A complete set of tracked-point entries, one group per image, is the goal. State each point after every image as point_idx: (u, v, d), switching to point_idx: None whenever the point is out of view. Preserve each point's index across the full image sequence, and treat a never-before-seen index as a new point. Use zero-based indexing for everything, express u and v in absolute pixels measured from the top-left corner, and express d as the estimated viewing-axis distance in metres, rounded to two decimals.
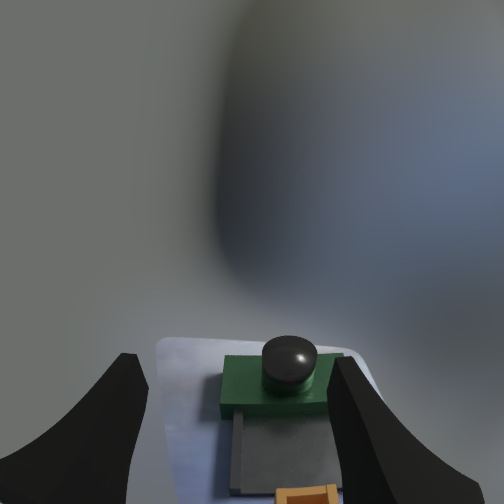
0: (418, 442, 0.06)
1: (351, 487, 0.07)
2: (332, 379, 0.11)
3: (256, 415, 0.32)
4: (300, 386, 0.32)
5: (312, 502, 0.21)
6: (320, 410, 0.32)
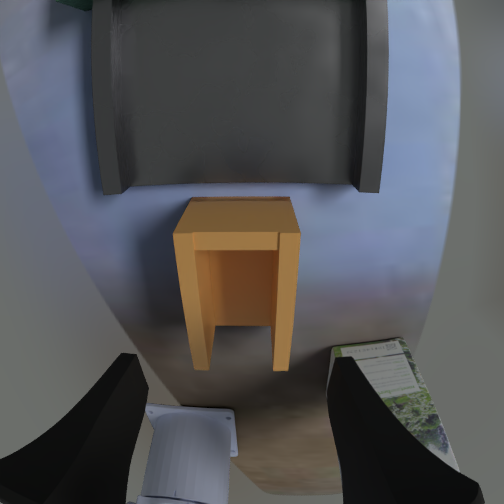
0: (418, 442, 0.06)
1: (351, 487, 0.07)
2: (332, 379, 0.11)
3: None
4: None
5: None
6: None
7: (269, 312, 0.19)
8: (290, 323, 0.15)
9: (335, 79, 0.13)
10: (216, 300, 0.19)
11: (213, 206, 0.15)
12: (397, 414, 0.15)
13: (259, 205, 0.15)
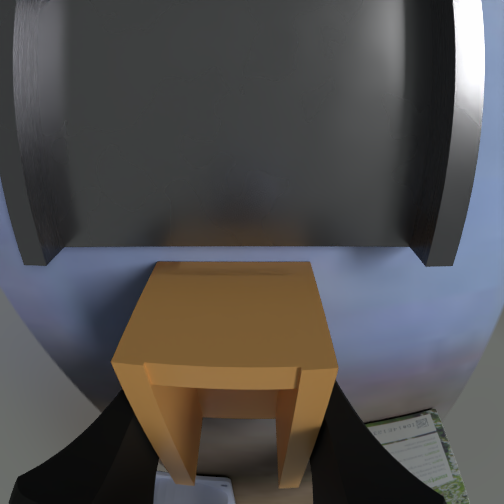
0: (383, 450, 0.06)
1: (319, 491, 0.07)
2: None
3: None
4: None
5: None
6: None
7: (274, 406, 0.13)
8: (306, 456, 0.09)
9: (396, 72, 0.07)
10: (201, 394, 0.13)
11: (186, 289, 0.09)
12: None
13: (262, 287, 0.09)
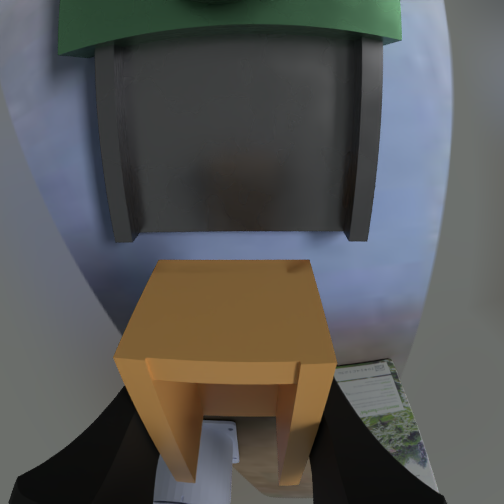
0: (384, 449, 0.06)
1: (319, 491, 0.07)
2: None
3: (150, 42, 0.12)
4: None
5: None
6: (304, 33, 0.11)
7: (274, 404, 0.13)
8: (306, 452, 0.09)
9: (329, 134, 0.14)
10: (202, 392, 0.13)
11: (187, 286, 0.09)
12: (382, 431, 0.17)
13: (262, 284, 0.09)
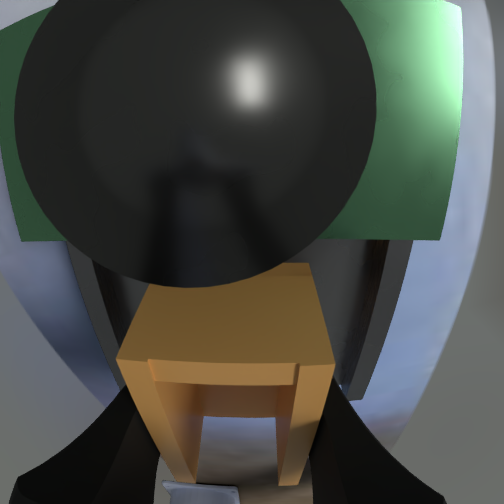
0: (383, 450, 0.06)
1: (319, 491, 0.07)
2: None
3: None
4: None
5: None
6: None
7: (274, 405, 0.13)
8: (305, 453, 0.09)
9: (337, 316, 0.14)
10: (202, 393, 0.13)
11: (188, 288, 0.09)
12: None
13: (262, 287, 0.09)
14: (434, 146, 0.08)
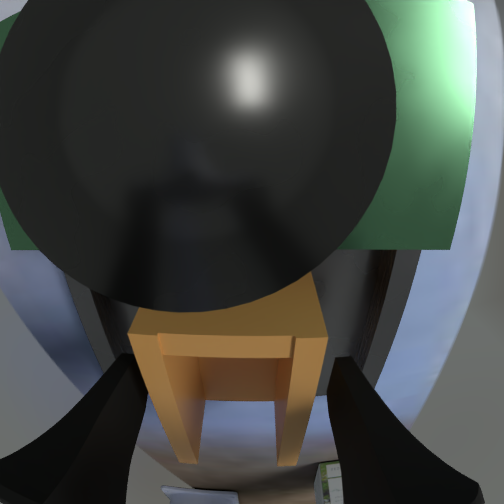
0: (418, 442, 0.06)
1: (351, 487, 0.07)
2: (332, 379, 0.11)
3: None
4: None
5: None
6: None
7: (273, 388, 0.14)
8: (302, 429, 0.10)
9: (340, 326, 0.13)
10: (205, 376, 0.14)
11: None
12: None
13: None
14: (446, 150, 0.07)
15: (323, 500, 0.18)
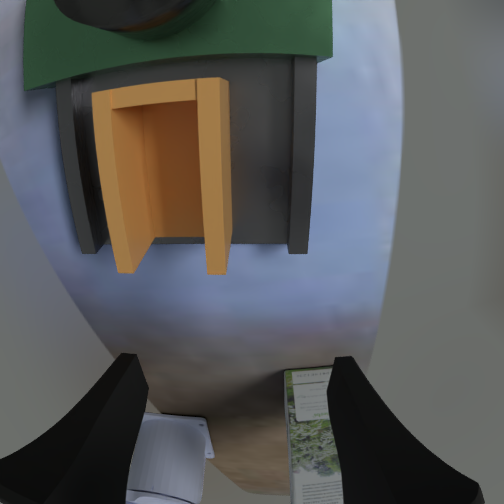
0: (418, 442, 0.06)
1: (351, 487, 0.07)
2: (332, 379, 0.11)
3: (104, 73, 0.13)
4: (172, 25, 0.10)
5: None
6: (239, 57, 0.13)
7: None
8: (219, 198, 0.12)
9: (268, 153, 0.16)
10: (154, 204, 0.16)
11: None
12: (332, 435, 0.18)
13: None
14: None
15: (287, 406, 0.21)
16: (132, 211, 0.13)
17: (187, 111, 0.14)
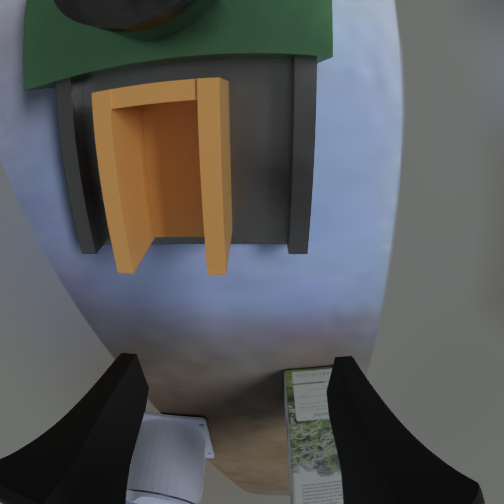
0: (418, 442, 0.06)
1: (351, 487, 0.07)
2: (332, 379, 0.11)
3: (104, 73, 0.13)
4: (172, 25, 0.10)
5: None
6: (239, 57, 0.13)
7: None
8: (219, 198, 0.12)
9: (268, 153, 0.16)
10: (154, 204, 0.16)
11: None
12: (332, 435, 0.18)
13: None
14: None
15: (287, 406, 0.21)
16: (132, 211, 0.13)
17: (187, 111, 0.14)
